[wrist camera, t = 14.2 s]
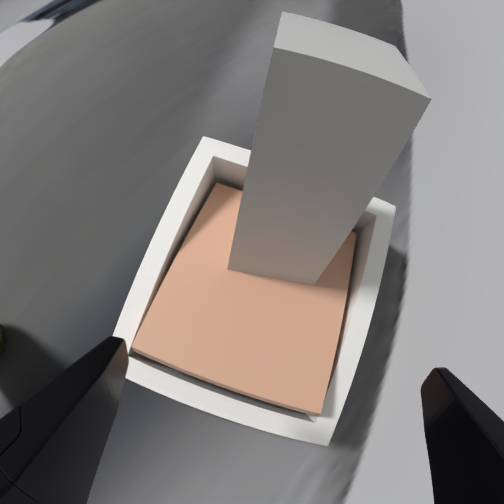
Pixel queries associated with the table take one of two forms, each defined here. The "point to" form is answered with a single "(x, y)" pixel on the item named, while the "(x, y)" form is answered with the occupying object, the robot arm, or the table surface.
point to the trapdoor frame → (221, 399)
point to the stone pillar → (320, 146)
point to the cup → (1, 340)
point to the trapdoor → (246, 317)
